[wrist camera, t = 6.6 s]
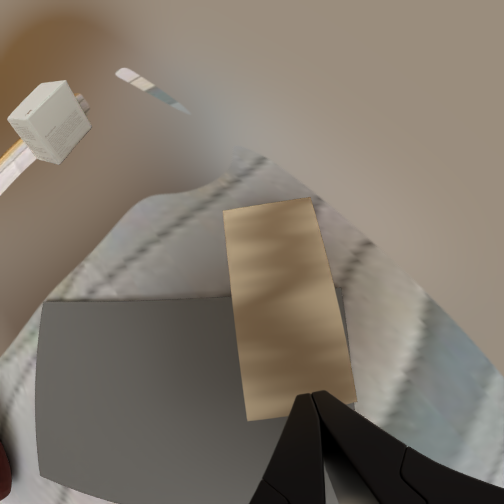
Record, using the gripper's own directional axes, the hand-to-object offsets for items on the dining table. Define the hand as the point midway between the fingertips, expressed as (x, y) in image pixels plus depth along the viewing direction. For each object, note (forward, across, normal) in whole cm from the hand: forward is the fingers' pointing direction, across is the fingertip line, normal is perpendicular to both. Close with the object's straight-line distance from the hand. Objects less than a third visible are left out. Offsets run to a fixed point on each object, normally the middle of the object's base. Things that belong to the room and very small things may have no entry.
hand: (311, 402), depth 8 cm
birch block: (+4, 0, -5) cm, 6 cm away
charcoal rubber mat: (+6, -8, -6) cm, 11 cm away
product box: (+25, -21, +13) cm, 35 cm away
